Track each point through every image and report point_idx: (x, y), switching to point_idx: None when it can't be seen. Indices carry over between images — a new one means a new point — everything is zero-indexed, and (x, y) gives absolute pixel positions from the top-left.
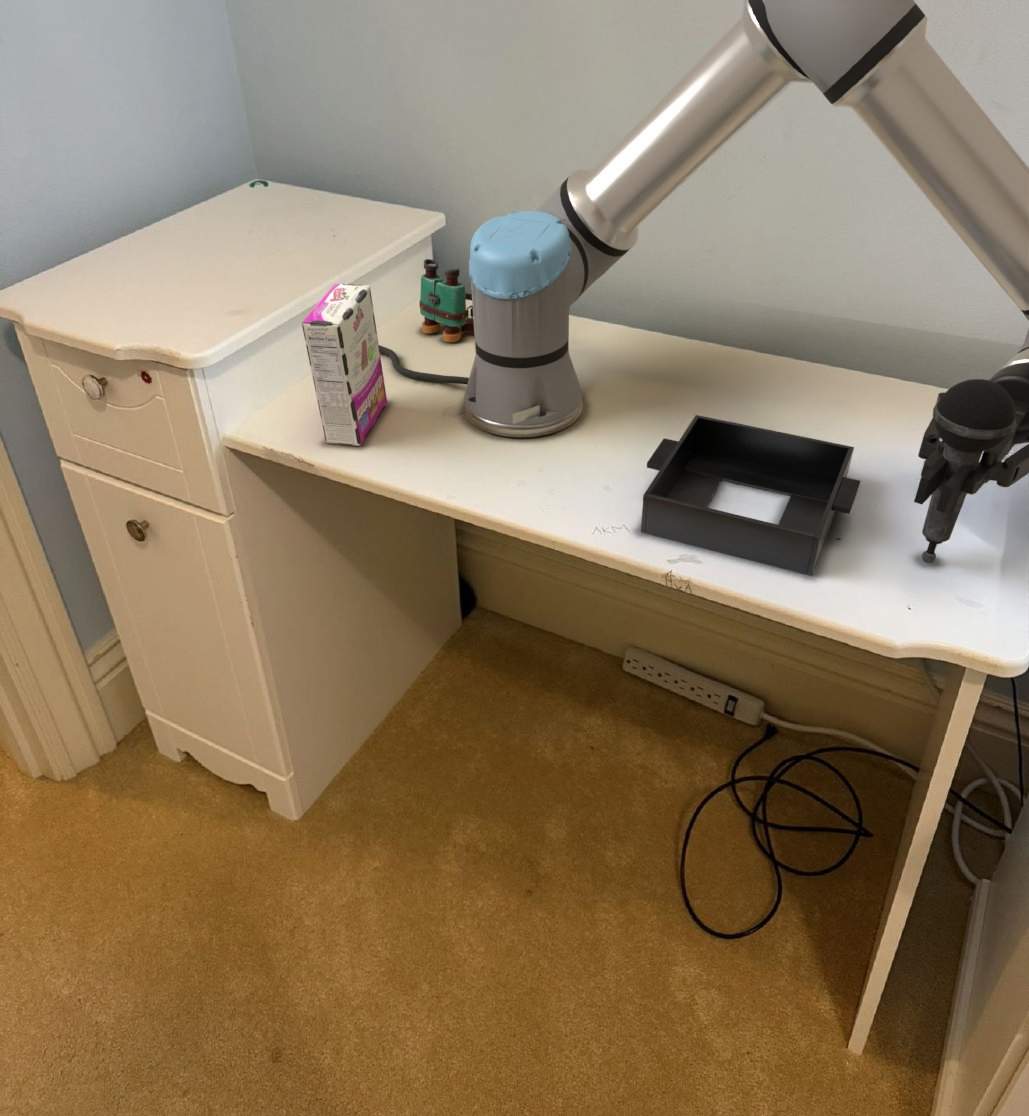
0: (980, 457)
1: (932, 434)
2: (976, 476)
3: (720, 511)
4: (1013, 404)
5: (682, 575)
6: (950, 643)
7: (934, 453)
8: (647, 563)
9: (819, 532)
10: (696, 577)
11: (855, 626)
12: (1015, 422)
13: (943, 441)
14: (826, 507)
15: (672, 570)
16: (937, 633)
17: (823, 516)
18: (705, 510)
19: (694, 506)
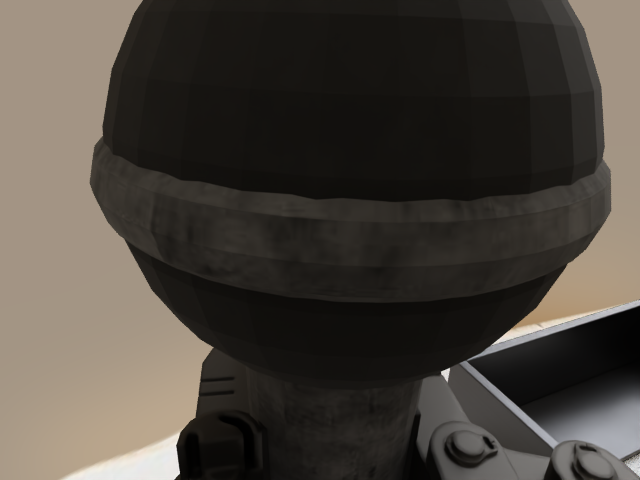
0: (247, 377)
1: (583, 462)
2: (224, 373)
3: (599, 316)
4: (133, 18)
5: (525, 328)
6: (153, 452)
7: (447, 399)
8: (567, 319)
9: (467, 366)
10: (514, 335)
11: None
12: (95, 145)
13: (492, 449)
14: (552, 437)
15: (541, 327)
16: None
17: (517, 406)
18: (610, 308)
19: (626, 305)
